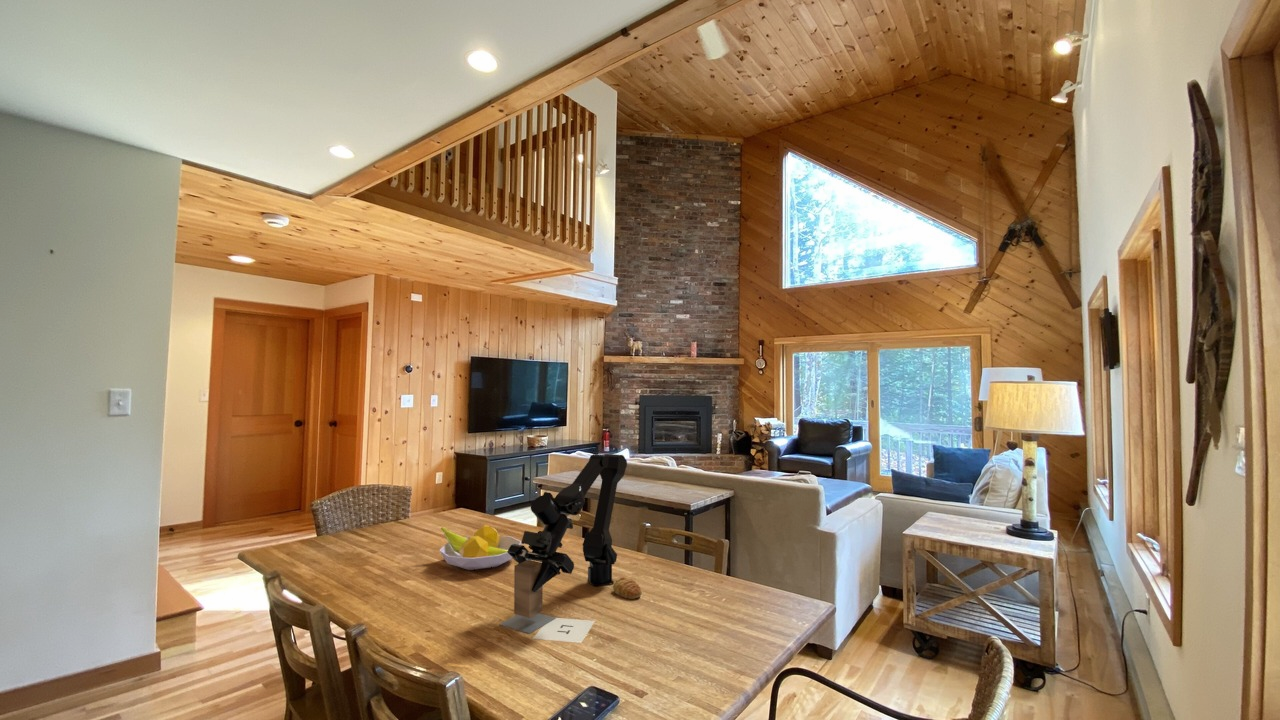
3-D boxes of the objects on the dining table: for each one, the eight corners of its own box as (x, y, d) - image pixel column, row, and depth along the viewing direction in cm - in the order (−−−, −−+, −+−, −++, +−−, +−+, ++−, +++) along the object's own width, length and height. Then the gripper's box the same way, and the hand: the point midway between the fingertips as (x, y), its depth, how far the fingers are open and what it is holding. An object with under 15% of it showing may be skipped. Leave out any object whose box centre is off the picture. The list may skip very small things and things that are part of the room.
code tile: (550, 618, 141) (550, 617, 141) (595, 622, 139) (595, 620, 139) (532, 640, 129) (532, 638, 129) (581, 644, 127) (581, 642, 127)
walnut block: (527, 606, 142) (527, 559, 142) (542, 610, 139) (542, 563, 140) (514, 613, 137) (514, 565, 138) (529, 617, 135) (529, 568, 135)
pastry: (647, 597, 156) (647, 583, 156) (628, 602, 152) (628, 589, 152) (629, 587, 163) (629, 574, 164) (610, 592, 159) (610, 579, 160)
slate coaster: (526, 612, 145) (526, 609, 145) (555, 620, 140) (555, 617, 140) (499, 626, 136) (499, 624, 136) (529, 635, 131) (529, 633, 131)
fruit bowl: (537, 558, 189) (537, 526, 190) (475, 582, 167) (476, 545, 167) (481, 546, 204) (482, 515, 205) (418, 566, 182) (419, 532, 182)
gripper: (512, 513, 147) (481, 567, 137) (567, 522, 138) (538, 580, 128) (531, 535, 154) (503, 588, 144) (585, 545, 145) (559, 602, 135)
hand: (524, 589), depth 138 cm, fingers closed on walnut block, 5 cm apart
